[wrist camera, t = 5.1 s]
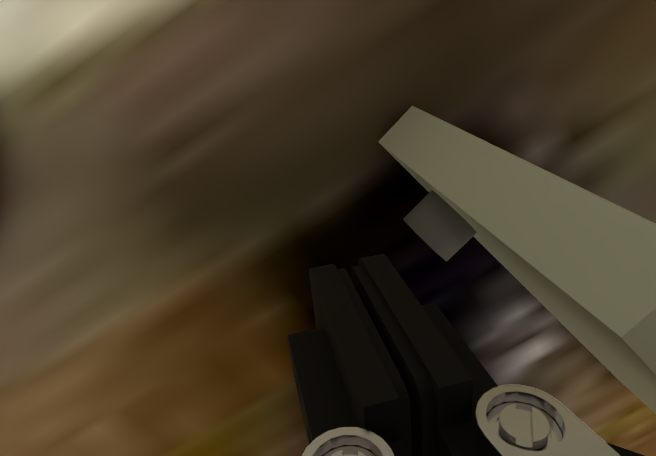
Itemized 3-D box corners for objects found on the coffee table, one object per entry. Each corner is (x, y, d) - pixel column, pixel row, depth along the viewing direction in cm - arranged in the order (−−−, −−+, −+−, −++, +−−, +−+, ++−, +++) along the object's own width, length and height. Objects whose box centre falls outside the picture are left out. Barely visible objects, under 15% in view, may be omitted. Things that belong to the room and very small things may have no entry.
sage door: (349, 163, 16) (578, 423, 6) (406, 102, 16) (758, 273, 6) (604, 398, 25) (871, 664, 15) (645, 363, 25) (951, 614, 14)
